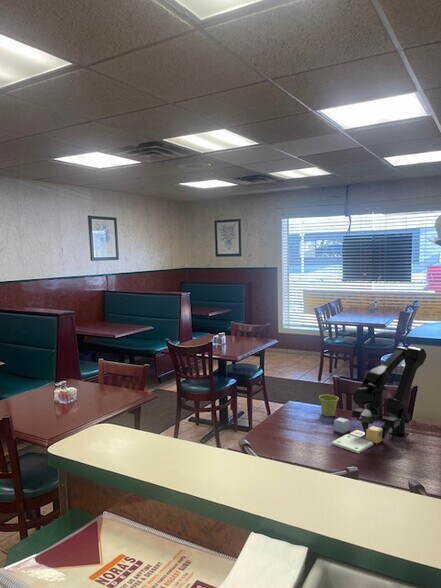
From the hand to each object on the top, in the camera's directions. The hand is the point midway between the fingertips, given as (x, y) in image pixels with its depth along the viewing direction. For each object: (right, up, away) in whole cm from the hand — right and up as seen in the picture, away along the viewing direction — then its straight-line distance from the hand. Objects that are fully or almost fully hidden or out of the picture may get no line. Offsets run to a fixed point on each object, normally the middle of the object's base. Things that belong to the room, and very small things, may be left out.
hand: (374, 437), depth 184 cm
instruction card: (-5, -1, +7) cm, 8 cm away
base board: (-11, -1, -5) cm, 12 cm away
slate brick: (-11, 0, +10) cm, 15 cm away
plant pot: (-12, +1, +30) cm, 32 cm away
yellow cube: (0, -1, 0) cm, 1 cm away
